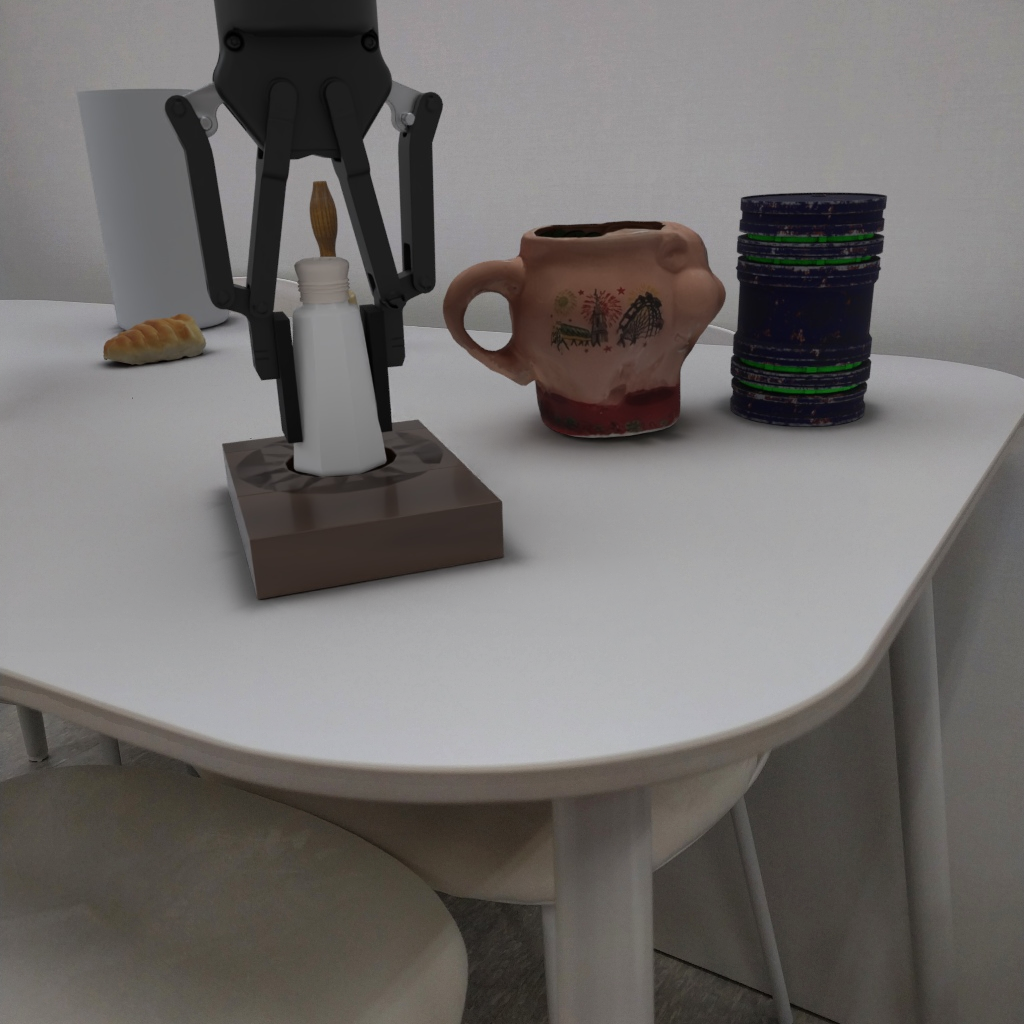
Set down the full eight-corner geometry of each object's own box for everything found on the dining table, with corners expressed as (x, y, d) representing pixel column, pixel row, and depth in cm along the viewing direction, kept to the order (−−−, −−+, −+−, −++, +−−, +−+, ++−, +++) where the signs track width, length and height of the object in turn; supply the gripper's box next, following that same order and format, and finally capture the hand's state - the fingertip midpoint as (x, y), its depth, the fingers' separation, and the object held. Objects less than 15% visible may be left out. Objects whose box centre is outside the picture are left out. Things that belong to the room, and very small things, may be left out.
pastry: (127, 371, 90) (120, 330, 89) (90, 363, 94) (83, 324, 93) (213, 353, 97) (208, 314, 96) (175, 346, 101) (169, 309, 100)
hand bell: (318, 360, 92) (300, 184, 87) (283, 347, 99) (264, 182, 93) (394, 347, 97) (382, 179, 91) (355, 336, 103) (342, 178, 97)
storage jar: (857, 432, 66) (881, 201, 60) (714, 419, 70) (724, 202, 64) (873, 397, 74) (895, 191, 69) (744, 387, 78) (755, 192, 73)
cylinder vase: (239, 313, 120) (210, 92, 111) (217, 331, 108) (183, 87, 99) (136, 317, 119) (99, 96, 110) (103, 336, 107) (58, 91, 98)
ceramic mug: (488, 474, 60) (479, 242, 55) (426, 425, 70) (413, 226, 65) (757, 429, 67) (770, 220, 62) (664, 391, 77) (669, 210, 72)
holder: (228, 490, 58) (221, 443, 57) (421, 464, 62) (418, 419, 61) (257, 600, 44) (249, 540, 43) (504, 557, 48) (502, 500, 47)
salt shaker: (313, 484, 50) (290, 269, 46) (276, 458, 55) (252, 259, 51) (406, 464, 53) (392, 259, 49) (363, 441, 57) (347, 250, 53)
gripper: (87, -79, 39) (175, 471, 47) (493, -63, 44) (506, 429, 53) (94, -47, 45) (170, 431, 54) (447, -37, 51) (465, 397, 59)
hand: (336, 429), depth 53 cm, fingers closed on salt shaker, 4 cm apart
